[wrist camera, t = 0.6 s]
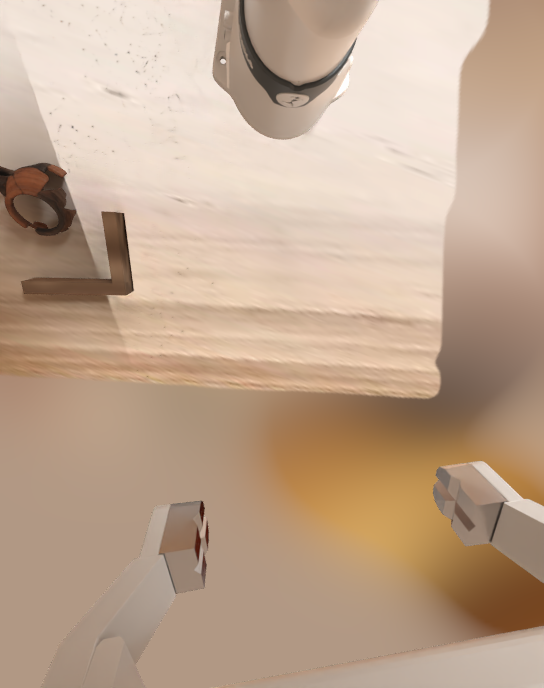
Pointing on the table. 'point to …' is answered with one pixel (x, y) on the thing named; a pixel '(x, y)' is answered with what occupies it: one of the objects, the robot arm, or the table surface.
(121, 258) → the dock
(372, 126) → the table surface
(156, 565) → the robot arm
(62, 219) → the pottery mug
